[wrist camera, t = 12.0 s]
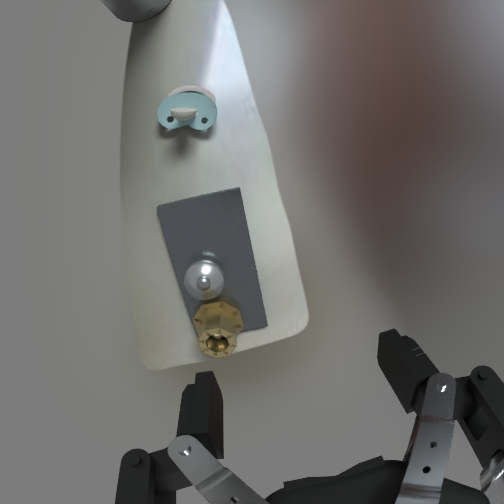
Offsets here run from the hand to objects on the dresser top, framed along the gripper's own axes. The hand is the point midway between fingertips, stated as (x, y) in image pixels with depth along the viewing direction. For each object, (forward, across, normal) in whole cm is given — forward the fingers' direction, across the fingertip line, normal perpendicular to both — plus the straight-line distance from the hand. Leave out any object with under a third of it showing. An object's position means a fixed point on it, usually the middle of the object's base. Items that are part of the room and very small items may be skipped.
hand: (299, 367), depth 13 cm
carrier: (+28, +6, +6) cm, 29 cm away
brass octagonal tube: (+27, +8, +14) cm, 31 cm away
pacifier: (+28, +5, -16) cm, 33 cm away
